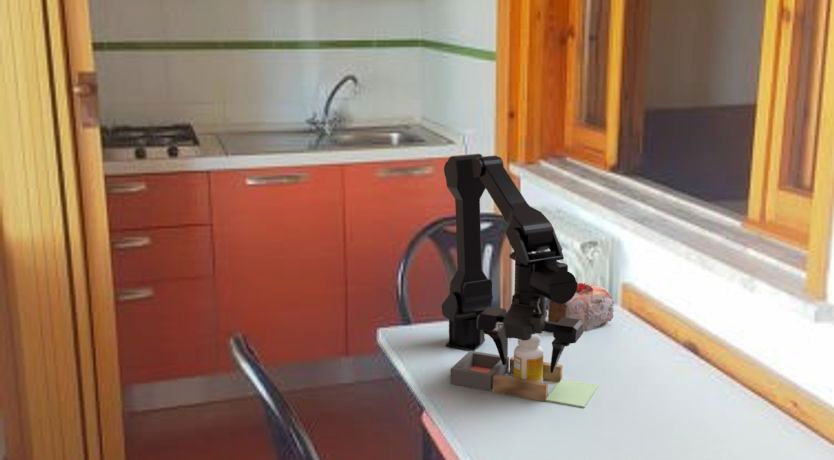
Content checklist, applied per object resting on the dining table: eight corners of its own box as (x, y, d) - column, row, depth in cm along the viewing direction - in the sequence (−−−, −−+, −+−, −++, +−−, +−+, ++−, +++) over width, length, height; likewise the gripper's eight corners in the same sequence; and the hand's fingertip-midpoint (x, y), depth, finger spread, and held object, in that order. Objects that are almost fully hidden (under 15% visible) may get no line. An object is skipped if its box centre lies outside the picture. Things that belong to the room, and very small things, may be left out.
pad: (545, 401, 166) (545, 399, 166) (561, 380, 175) (561, 378, 175) (584, 407, 163) (584, 406, 163) (598, 386, 172) (598, 385, 172)
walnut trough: (492, 391, 170) (493, 376, 169) (511, 371, 179) (511, 356, 178) (545, 401, 166) (546, 385, 165) (562, 379, 175) (562, 365, 174)
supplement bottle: (546, 383, 174) (547, 334, 171) (537, 394, 169) (538, 343, 166) (518, 378, 176) (519, 329, 173) (509, 389, 171) (510, 339, 169)
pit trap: (450, 383, 173) (450, 368, 173) (470, 364, 182) (470, 350, 181) (490, 391, 170) (490, 375, 169) (508, 371, 179) (509, 356, 178)
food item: (591, 315, 210) (593, 274, 207) (616, 326, 203) (618, 283, 201) (543, 327, 203) (545, 283, 200) (567, 338, 196) (569, 293, 194)
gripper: (465, 293, 164) (465, 376, 168) (568, 307, 157) (565, 393, 161) (487, 276, 174) (486, 354, 178) (585, 289, 167) (582, 370, 170)
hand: (528, 368), depth 171 cm, fingers open, 9 cm apart
